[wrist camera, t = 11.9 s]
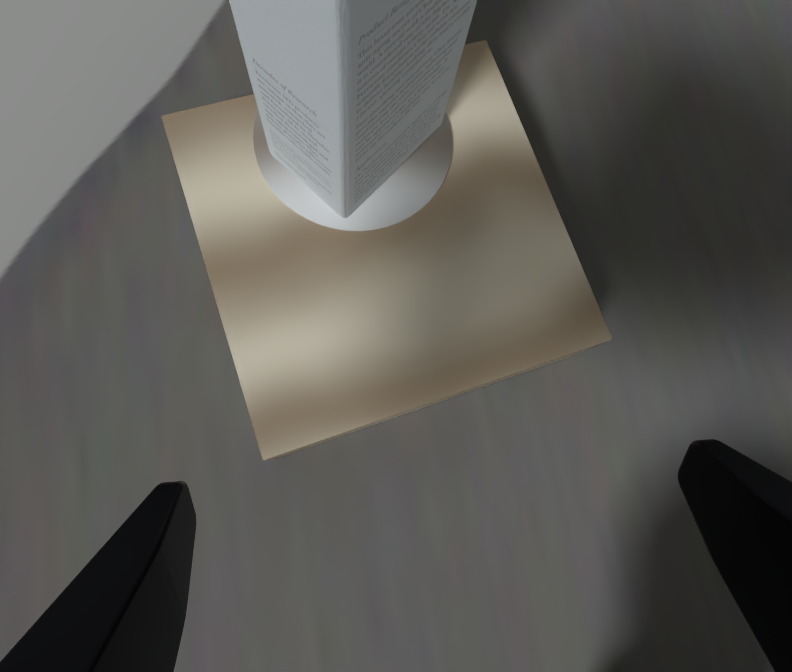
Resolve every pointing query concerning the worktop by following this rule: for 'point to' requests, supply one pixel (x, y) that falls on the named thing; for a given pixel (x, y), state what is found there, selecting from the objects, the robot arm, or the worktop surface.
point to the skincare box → (350, 84)
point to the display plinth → (383, 267)
